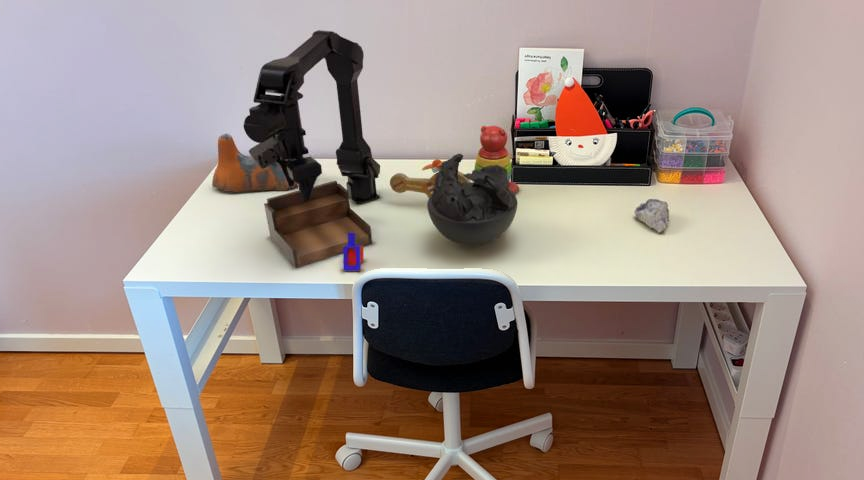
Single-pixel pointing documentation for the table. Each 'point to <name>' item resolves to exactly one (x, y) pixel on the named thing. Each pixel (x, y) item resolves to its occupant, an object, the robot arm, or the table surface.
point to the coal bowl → (472, 204)
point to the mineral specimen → (653, 214)
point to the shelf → (314, 224)
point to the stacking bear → (495, 152)
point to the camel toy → (244, 171)
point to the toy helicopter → (420, 180)
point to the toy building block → (352, 254)
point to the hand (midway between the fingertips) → (298, 193)
